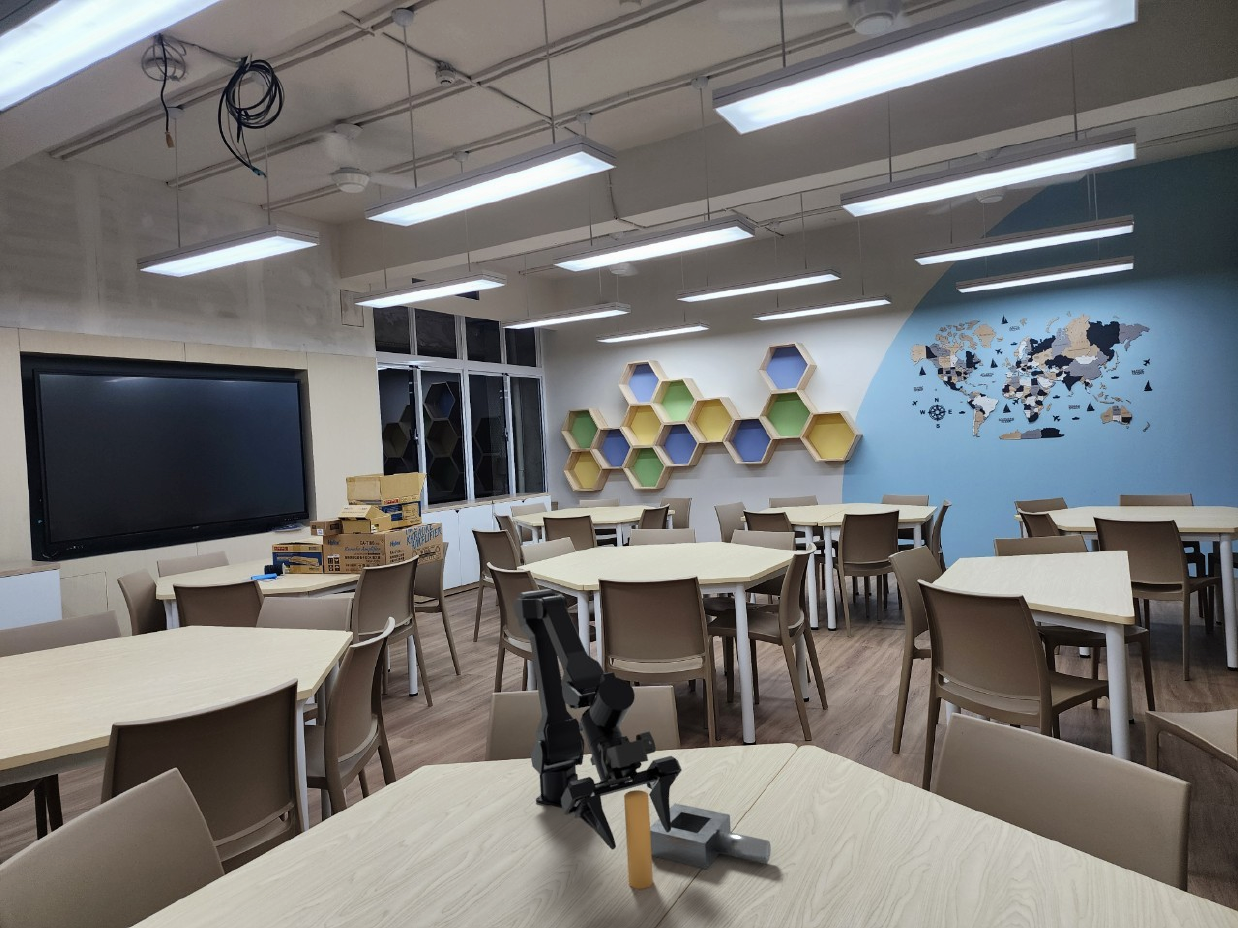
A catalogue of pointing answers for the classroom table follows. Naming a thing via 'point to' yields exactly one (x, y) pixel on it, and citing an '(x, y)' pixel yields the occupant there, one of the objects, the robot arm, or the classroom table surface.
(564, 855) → the classroom table surface
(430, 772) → the classroom table surface
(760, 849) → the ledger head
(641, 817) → the orange cylinder
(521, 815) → the classroom table surface
